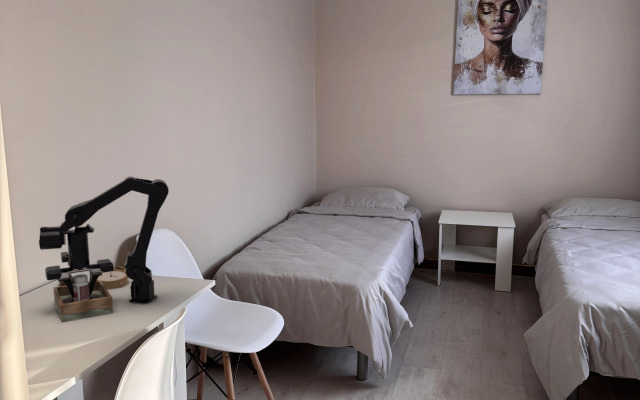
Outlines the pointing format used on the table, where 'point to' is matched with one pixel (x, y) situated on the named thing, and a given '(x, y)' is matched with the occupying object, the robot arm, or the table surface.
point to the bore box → (82, 303)
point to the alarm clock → (114, 278)
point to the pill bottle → (81, 288)
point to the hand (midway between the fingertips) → (81, 295)
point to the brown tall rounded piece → (64, 282)
